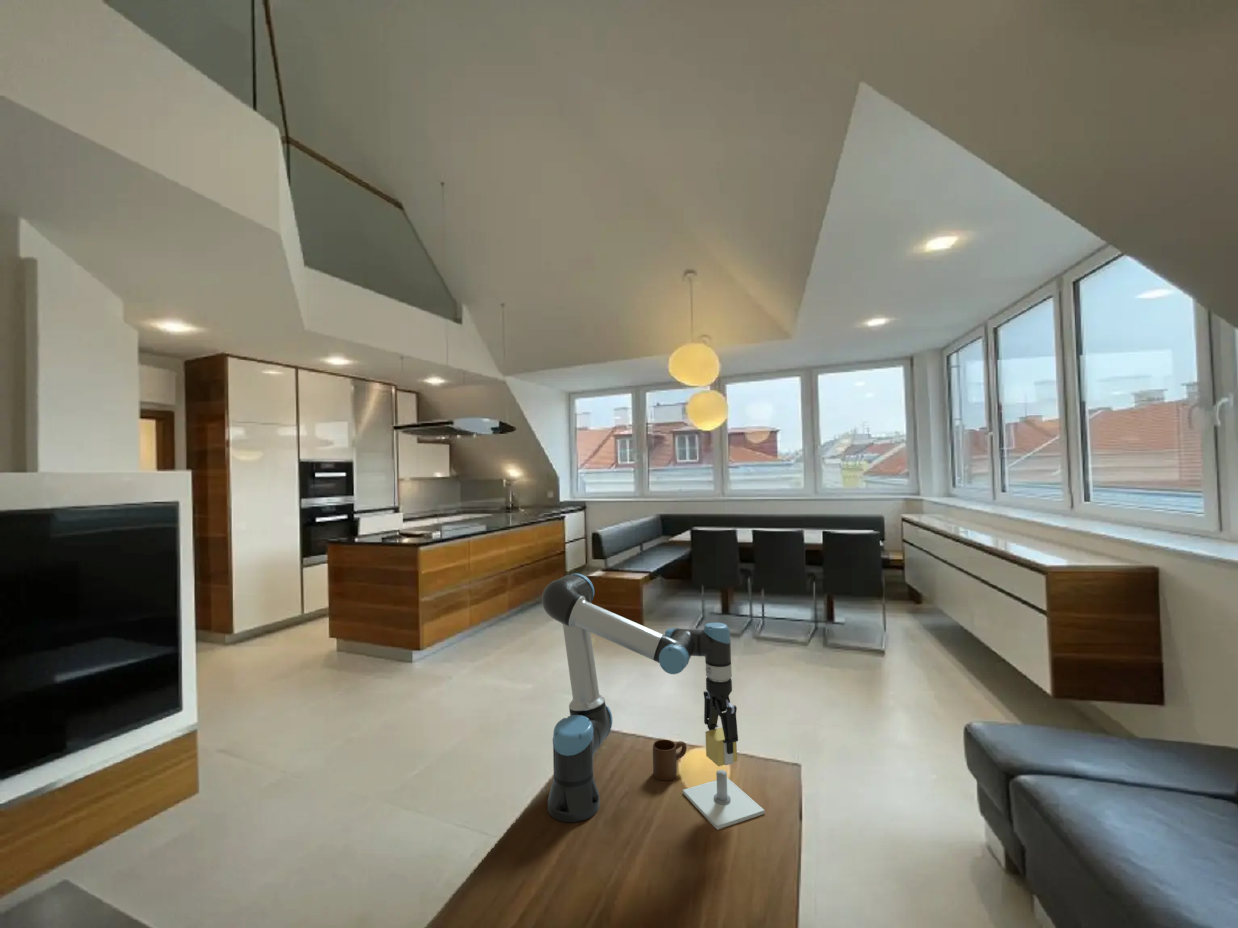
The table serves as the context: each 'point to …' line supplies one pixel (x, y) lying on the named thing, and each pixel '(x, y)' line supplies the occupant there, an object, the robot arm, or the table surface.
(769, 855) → the table surface
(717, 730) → the pale yellow cube
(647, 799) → the table surface
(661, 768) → the mug
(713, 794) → the white square plate
